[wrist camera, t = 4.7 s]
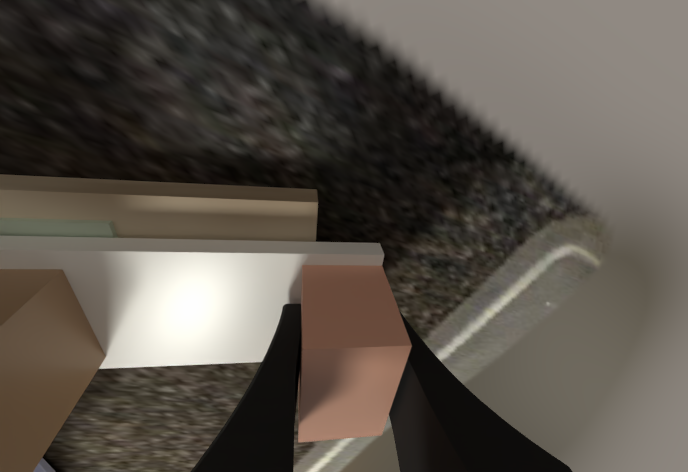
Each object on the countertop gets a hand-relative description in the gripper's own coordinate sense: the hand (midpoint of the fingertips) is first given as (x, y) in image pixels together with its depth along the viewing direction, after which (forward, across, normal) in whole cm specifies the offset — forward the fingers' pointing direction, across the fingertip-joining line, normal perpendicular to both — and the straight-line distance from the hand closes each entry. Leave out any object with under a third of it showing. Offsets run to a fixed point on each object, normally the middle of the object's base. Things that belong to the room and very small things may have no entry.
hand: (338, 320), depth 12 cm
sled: (+1, +7, 0) cm, 7 cm away
